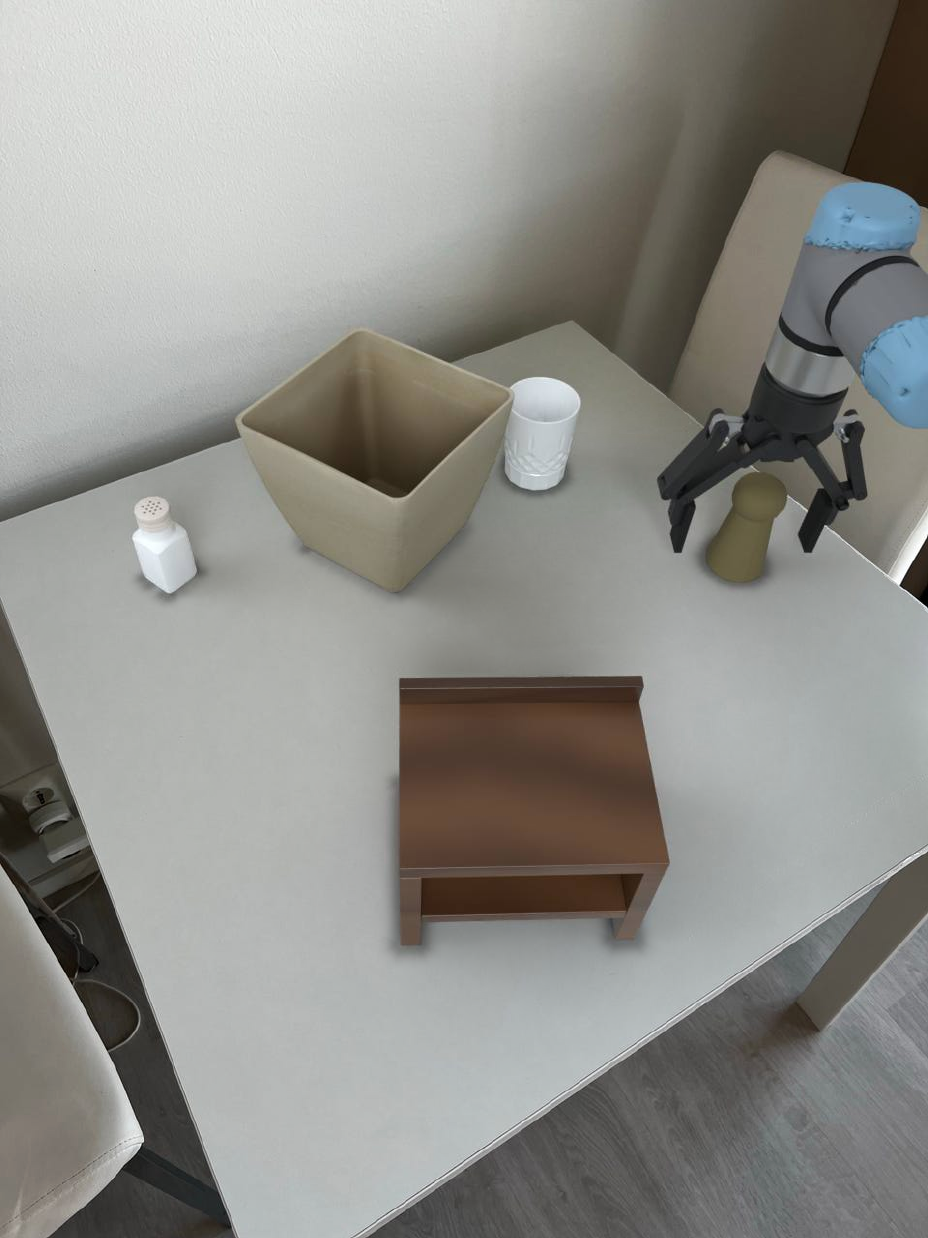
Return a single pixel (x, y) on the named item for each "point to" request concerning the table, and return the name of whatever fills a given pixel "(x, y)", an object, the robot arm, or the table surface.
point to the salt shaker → (162, 545)
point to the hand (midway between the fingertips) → (740, 543)
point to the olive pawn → (747, 528)
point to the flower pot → (377, 452)
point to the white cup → (540, 432)
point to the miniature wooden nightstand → (526, 802)
